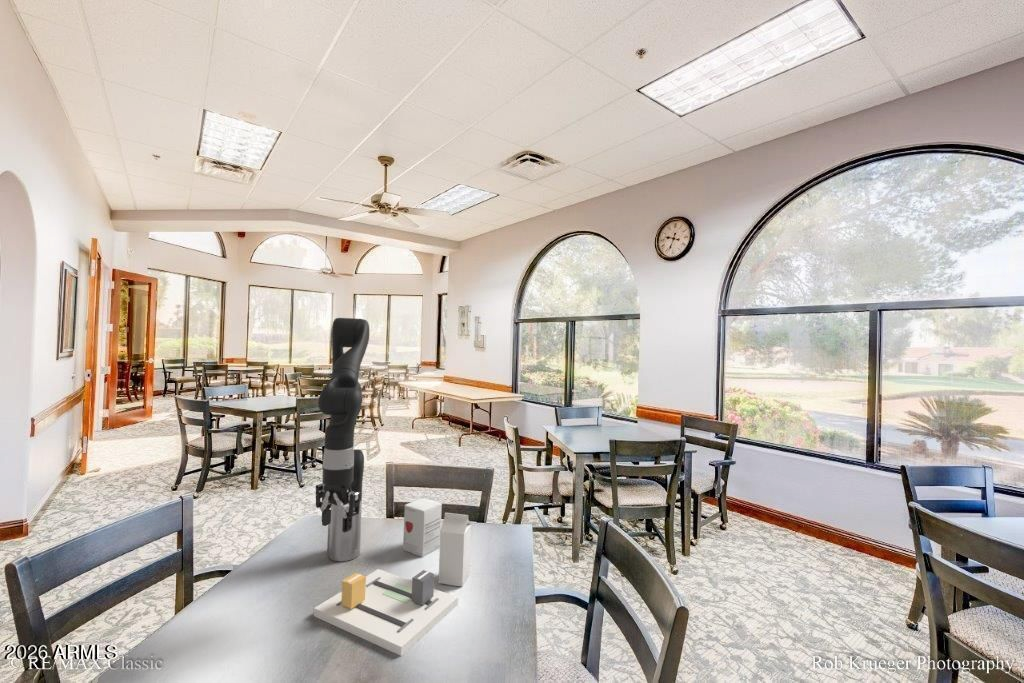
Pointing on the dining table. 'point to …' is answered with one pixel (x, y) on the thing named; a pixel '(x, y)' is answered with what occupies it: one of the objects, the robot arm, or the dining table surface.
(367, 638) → the board
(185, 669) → the dining table surface
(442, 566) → the milk carton
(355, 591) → the fader amber
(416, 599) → the fader charcoal
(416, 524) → the supplement box
